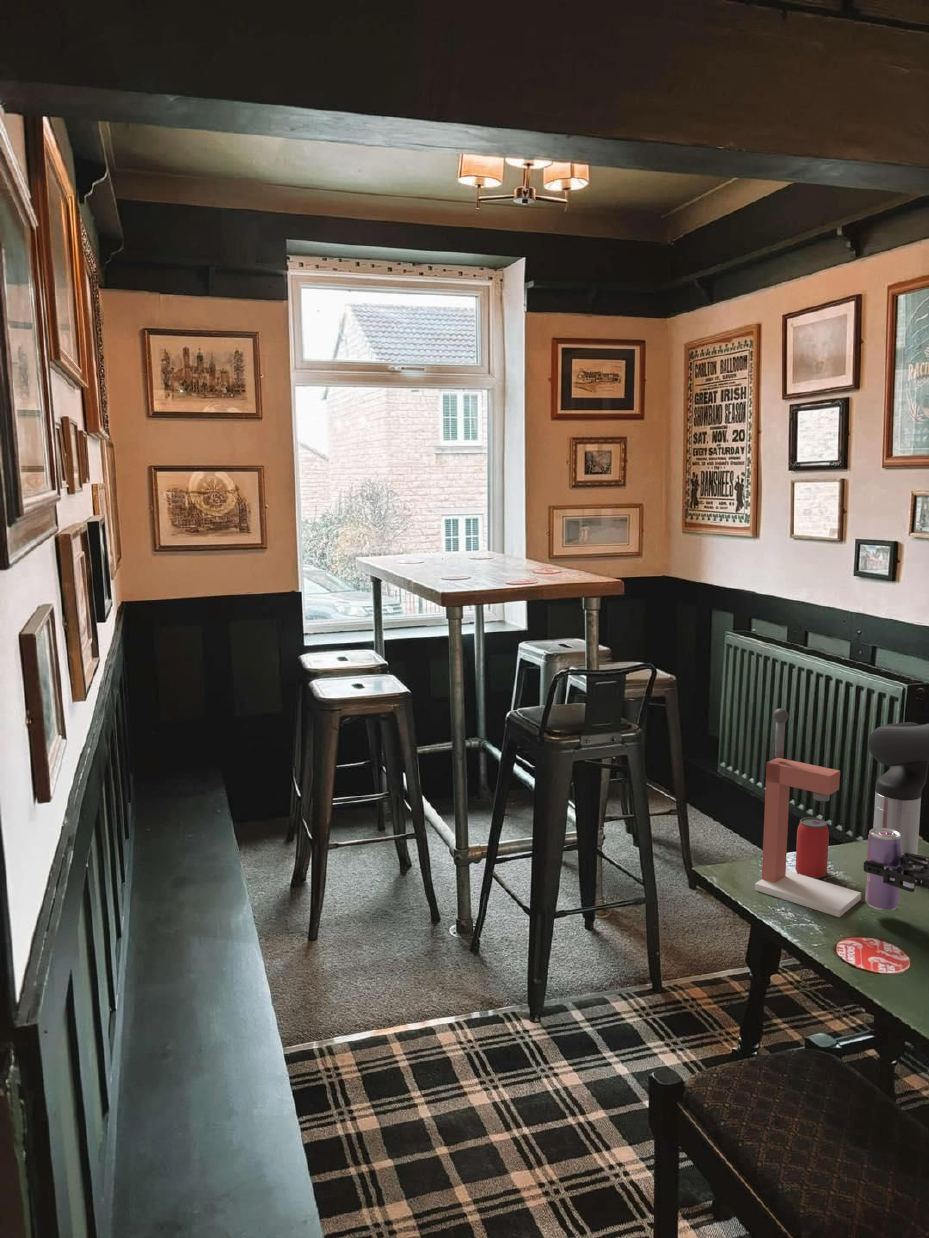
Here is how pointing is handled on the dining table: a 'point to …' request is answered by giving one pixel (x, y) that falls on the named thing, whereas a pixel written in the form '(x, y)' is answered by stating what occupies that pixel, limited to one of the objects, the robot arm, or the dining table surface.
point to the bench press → (776, 830)
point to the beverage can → (887, 852)
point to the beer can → (812, 847)
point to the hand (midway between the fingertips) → (870, 860)
